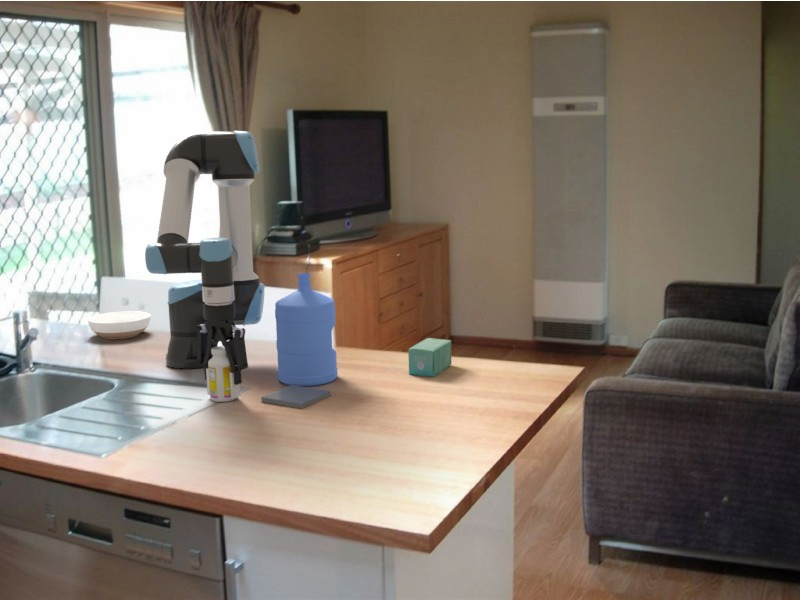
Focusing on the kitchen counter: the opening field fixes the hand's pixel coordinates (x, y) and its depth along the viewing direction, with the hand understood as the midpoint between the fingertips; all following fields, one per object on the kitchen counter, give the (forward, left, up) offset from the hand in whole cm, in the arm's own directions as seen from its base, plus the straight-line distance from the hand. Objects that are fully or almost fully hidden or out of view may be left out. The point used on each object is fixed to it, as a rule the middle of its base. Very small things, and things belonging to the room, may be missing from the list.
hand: (223, 394), depth 222 cm
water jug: (+8, +24, -1) cm, 25 cm away
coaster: (+16, +8, -1) cm, 18 cm away
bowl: (-79, +41, -1) cm, 89 cm away
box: (+33, +46, -1) cm, 57 cm away
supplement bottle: (0, 0, -1) cm, 1 cm away
